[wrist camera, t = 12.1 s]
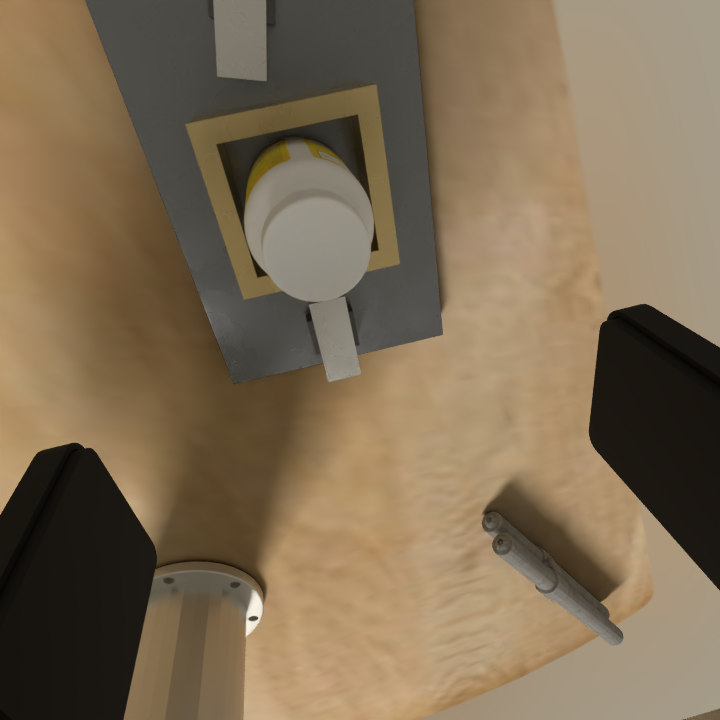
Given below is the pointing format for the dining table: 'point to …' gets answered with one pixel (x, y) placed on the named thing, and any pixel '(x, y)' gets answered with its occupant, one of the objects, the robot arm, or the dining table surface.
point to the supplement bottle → (307, 219)
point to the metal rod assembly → (549, 577)
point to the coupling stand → (262, 127)
